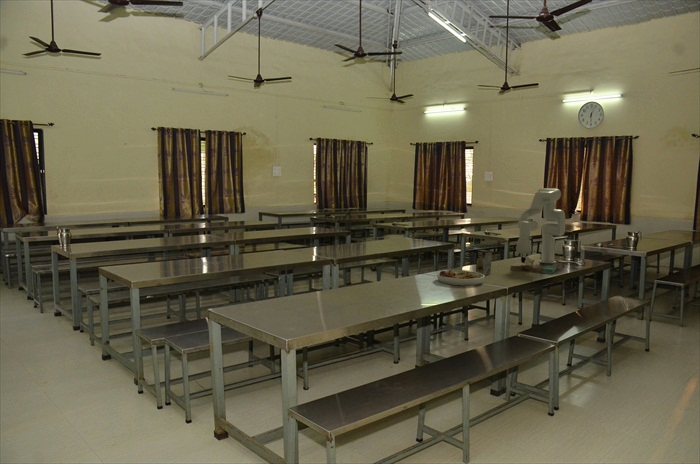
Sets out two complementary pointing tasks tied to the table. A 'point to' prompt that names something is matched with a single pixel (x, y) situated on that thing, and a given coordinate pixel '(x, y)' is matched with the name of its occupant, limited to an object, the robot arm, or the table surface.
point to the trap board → (534, 268)
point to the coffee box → (483, 261)
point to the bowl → (460, 277)
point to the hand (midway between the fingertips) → (523, 262)
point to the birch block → (529, 261)
